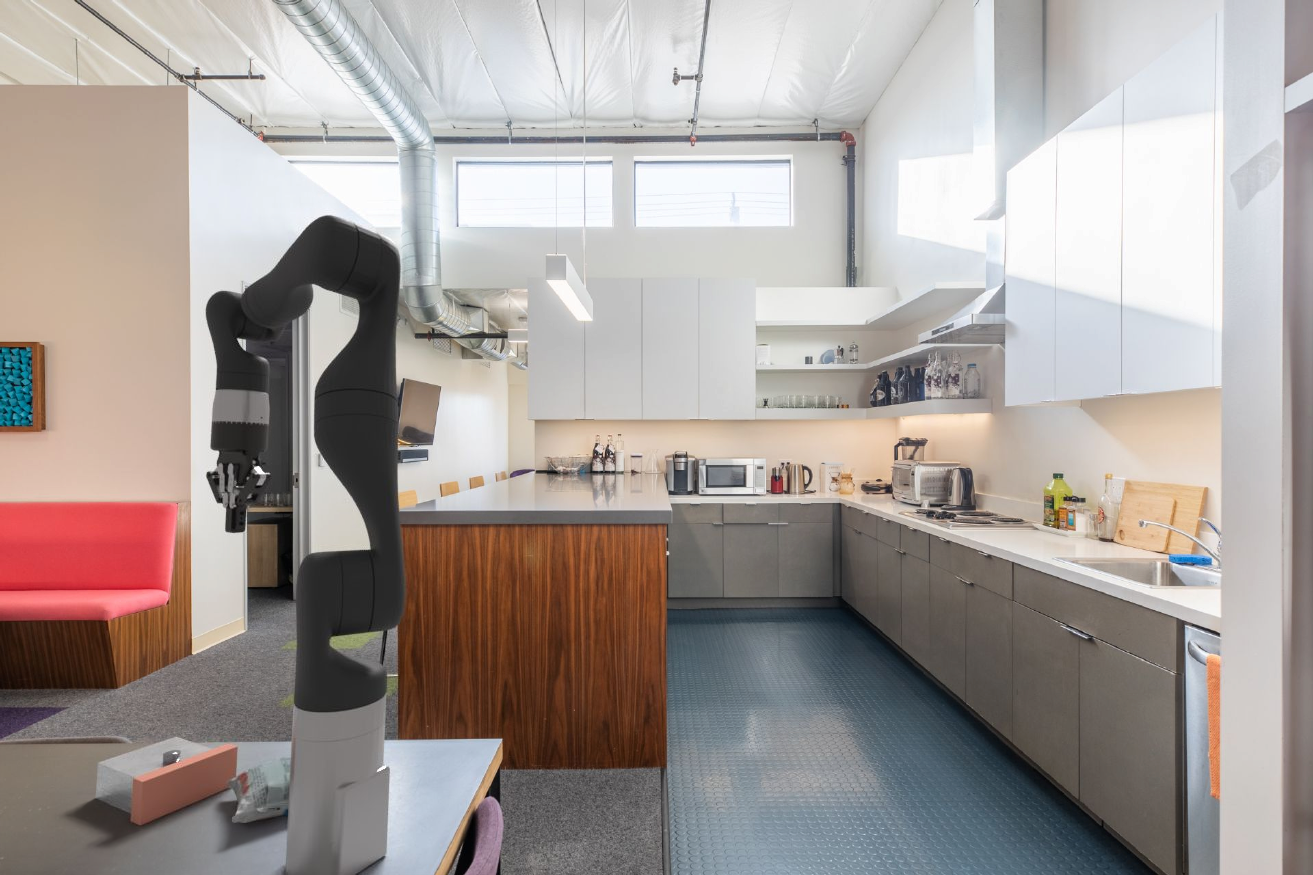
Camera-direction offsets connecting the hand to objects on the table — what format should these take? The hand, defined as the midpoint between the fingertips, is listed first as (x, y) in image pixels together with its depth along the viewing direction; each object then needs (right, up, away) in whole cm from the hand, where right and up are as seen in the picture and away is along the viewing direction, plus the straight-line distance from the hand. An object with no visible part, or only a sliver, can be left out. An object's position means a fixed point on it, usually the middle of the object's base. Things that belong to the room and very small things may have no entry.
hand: (234, 532), depth 99 cm
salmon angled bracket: (+2, -31, -17) cm, 35 cm away
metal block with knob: (+1, -31, -16) cm, 35 cm away
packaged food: (+17, -32, -20) cm, 41 cm away
